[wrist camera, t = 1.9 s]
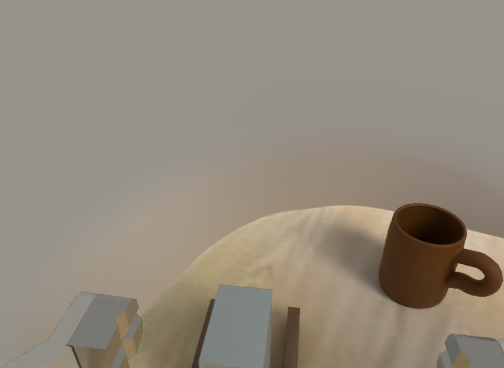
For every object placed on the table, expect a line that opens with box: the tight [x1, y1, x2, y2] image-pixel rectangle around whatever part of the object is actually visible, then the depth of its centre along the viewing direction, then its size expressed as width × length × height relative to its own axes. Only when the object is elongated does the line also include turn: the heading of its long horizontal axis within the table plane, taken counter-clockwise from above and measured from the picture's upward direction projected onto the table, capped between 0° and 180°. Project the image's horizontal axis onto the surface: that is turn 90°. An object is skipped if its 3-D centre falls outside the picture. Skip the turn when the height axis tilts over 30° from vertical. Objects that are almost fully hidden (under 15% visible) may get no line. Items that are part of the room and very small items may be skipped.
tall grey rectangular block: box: [199, 285, 272, 368], centre depth 33 cm, size 4×7×11 cm, turn 172°
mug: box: [379, 203, 503, 308], centre depth 43 cm, size 12×8×9 cm, turn 36°
